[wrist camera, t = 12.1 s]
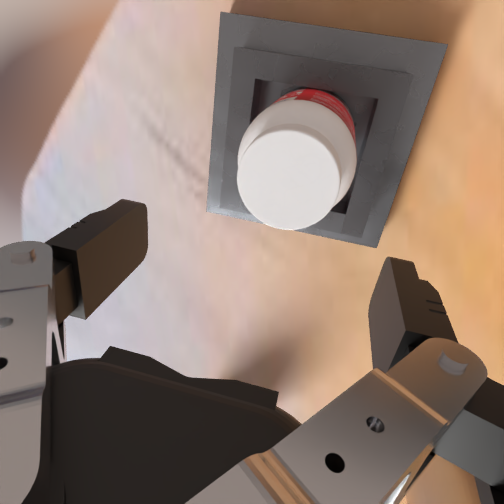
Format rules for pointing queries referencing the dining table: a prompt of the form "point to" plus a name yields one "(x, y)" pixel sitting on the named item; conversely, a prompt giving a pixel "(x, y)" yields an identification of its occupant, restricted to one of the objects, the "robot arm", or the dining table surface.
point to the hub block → (332, 79)
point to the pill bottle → (297, 159)
